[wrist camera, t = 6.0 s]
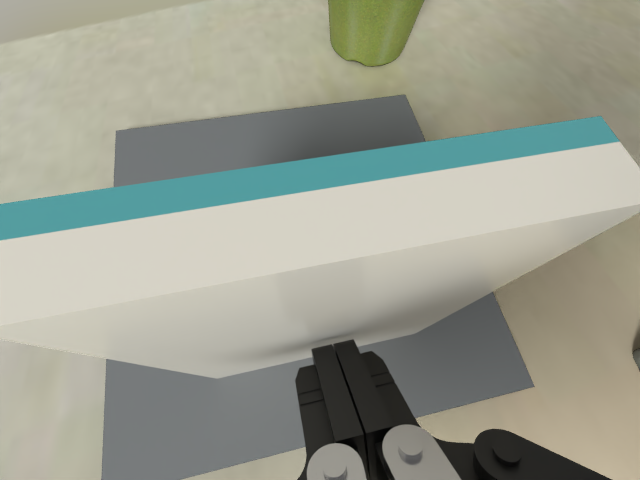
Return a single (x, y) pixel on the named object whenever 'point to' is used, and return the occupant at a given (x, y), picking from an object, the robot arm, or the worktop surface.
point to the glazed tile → (304, 247)
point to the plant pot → (371, 28)
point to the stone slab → (637, 357)
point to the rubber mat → (279, 381)
